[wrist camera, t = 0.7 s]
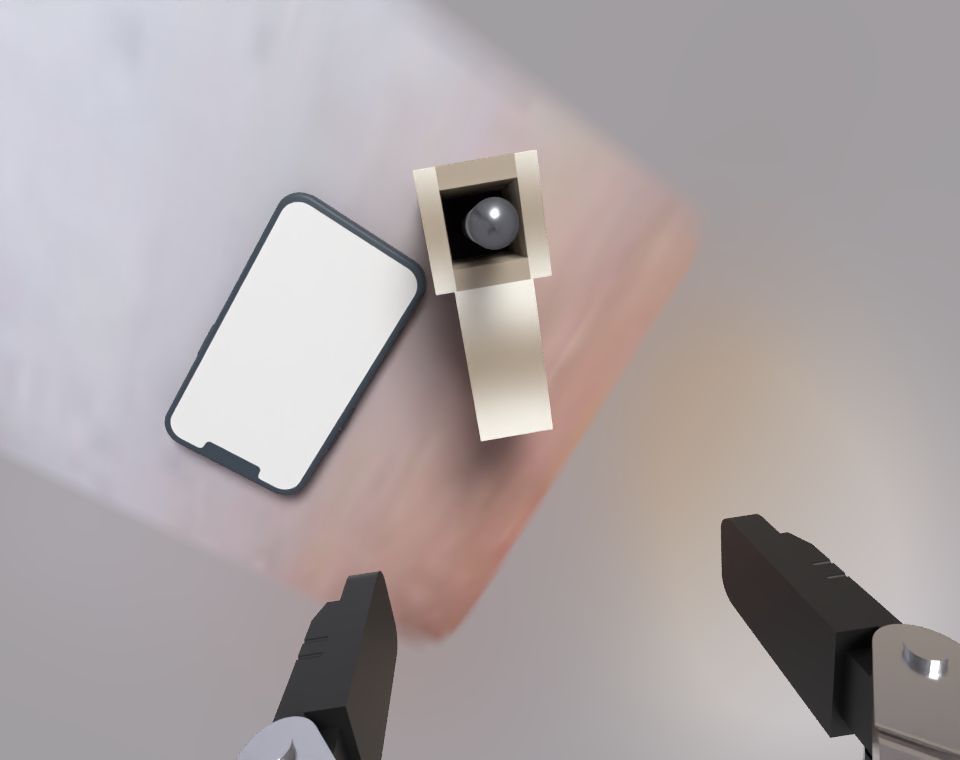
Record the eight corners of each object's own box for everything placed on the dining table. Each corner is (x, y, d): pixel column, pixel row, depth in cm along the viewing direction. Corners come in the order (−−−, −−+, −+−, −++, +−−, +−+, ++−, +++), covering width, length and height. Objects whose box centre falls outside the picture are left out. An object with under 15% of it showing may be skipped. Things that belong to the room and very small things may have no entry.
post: (459, 212, 27) (465, 201, 16) (488, 207, 27) (515, 193, 16) (464, 243, 28) (473, 253, 16) (493, 238, 28) (522, 245, 16)
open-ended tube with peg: (422, 184, 27) (412, 170, 20) (515, 168, 27) (536, 149, 20) (461, 396, 30) (464, 444, 24) (543, 382, 30) (569, 426, 24)
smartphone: (295, 183, 27) (167, 422, 30) (286, 179, 26) (152, 432, 29) (437, 274, 29) (302, 492, 32) (436, 276, 27) (295, 505, 30)
